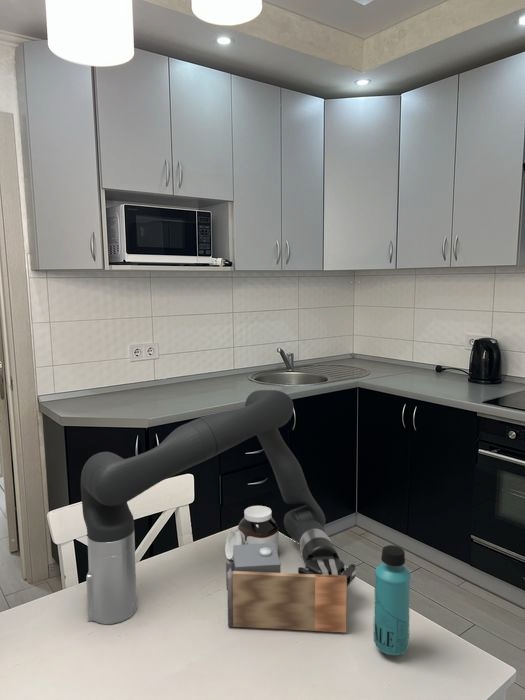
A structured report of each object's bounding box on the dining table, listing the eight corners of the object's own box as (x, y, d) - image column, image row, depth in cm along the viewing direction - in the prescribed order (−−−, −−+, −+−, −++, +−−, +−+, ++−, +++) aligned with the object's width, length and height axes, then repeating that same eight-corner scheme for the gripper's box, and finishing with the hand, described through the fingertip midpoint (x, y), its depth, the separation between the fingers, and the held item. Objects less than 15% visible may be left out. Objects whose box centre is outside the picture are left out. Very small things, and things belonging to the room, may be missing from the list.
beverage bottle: (410, 644, 98) (413, 543, 95) (407, 668, 91) (411, 560, 89) (374, 636, 100) (377, 537, 97) (370, 659, 94) (372, 554, 91)
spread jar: (283, 556, 130) (283, 512, 128) (251, 574, 122) (251, 527, 120) (249, 541, 138) (249, 498, 137) (217, 556, 130) (216, 512, 129)
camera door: (227, 626, 102) (226, 573, 101) (228, 622, 103) (227, 570, 102) (345, 632, 100) (346, 578, 99) (345, 628, 101) (346, 575, 100)
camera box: (227, 624, 104) (227, 563, 102) (226, 598, 112) (225, 541, 111) (280, 620, 105) (280, 560, 103) (274, 594, 113) (274, 539, 112)
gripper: (289, 538, 117) (304, 580, 100) (346, 534, 118) (370, 576, 101) (289, 569, 118) (303, 617, 101) (346, 566, 119) (370, 612, 102)
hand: (337, 596), depth 101 cm, fingers closed
